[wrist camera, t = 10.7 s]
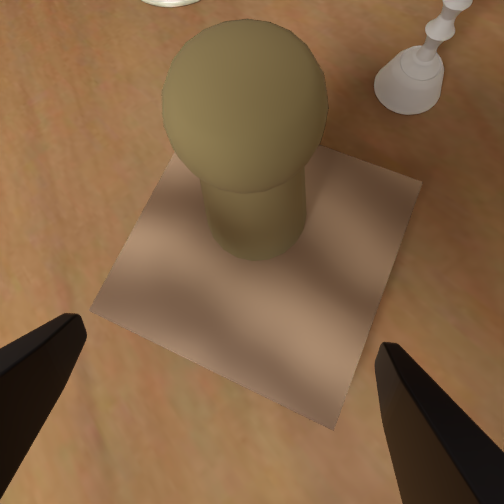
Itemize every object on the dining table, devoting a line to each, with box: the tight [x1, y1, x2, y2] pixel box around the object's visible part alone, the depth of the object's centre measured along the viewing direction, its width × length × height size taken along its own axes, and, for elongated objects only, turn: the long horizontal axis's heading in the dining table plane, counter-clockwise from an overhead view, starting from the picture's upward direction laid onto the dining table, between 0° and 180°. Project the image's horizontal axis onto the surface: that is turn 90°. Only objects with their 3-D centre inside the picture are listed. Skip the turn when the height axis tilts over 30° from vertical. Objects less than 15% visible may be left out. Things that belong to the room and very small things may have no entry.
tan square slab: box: [89, 145, 423, 431], centre depth 20 cm, size 15×15×4 cm
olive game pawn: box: [162, 19, 329, 261], centre depth 14 cm, size 6×6×11 cm
